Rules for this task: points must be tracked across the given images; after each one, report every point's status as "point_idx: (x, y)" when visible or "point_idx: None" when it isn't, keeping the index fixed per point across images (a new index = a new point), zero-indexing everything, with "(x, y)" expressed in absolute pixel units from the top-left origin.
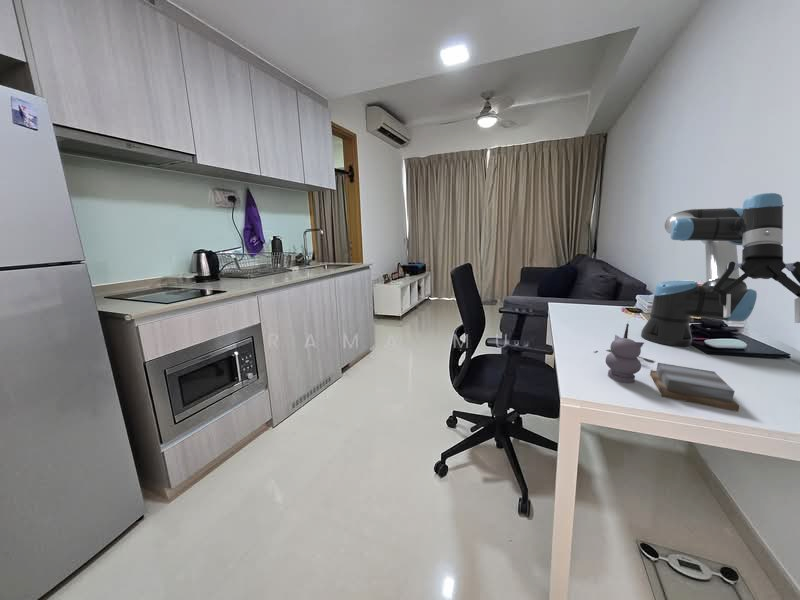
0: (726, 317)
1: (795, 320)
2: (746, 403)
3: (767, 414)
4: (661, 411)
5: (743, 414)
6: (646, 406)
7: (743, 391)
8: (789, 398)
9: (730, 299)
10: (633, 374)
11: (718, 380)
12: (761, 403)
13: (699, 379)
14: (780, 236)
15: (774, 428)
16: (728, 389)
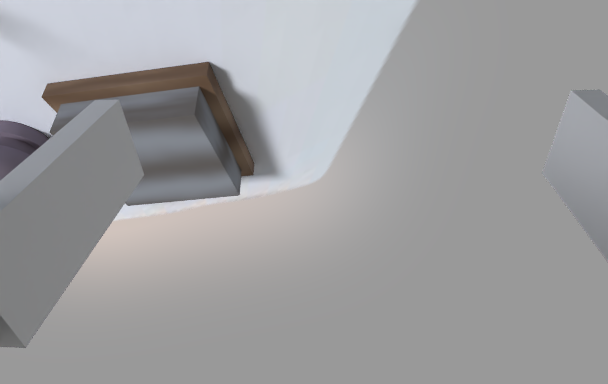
0: (117, 115)
1: (575, 110)
2: (274, 122)
3: (301, 147)
4: (153, 213)
5: (261, 167)
6: (130, 211)
7: (280, 52)
8: (393, 28)
9: (64, 289)
10: (35, 143)
11: (209, 164)
12: (305, 105)
13: (174, 179)
14: None
15: (297, 183)
16: (229, 193)
